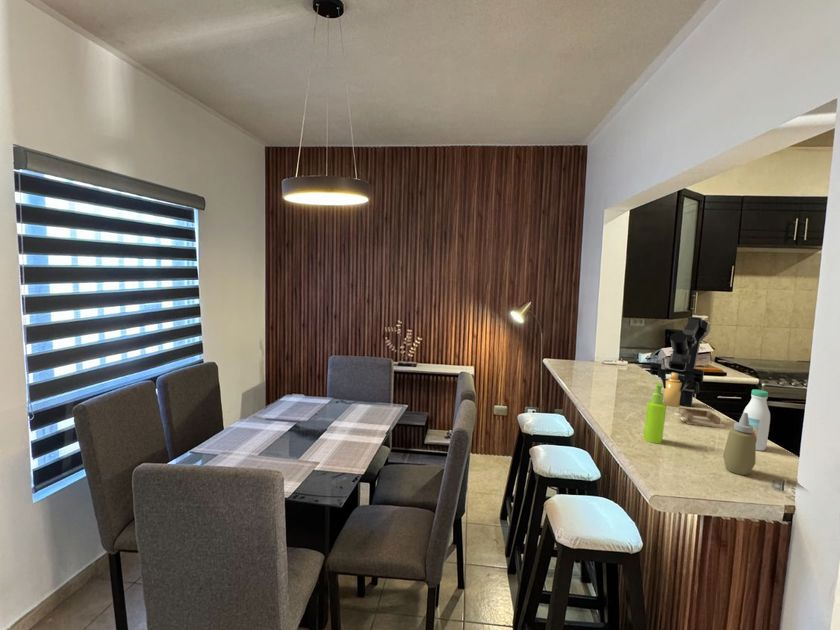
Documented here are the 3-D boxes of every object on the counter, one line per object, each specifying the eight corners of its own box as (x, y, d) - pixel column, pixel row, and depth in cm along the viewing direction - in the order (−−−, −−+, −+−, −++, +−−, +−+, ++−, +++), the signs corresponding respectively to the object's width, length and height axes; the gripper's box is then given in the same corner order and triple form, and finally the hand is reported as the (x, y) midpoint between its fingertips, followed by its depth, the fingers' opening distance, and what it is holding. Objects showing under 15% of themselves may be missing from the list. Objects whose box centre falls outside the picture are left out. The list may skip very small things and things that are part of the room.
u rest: (674, 413, 194) (675, 406, 194) (710, 417, 192) (711, 410, 192) (687, 424, 181) (688, 416, 180) (726, 428, 178) (727, 420, 178)
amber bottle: (661, 402, 186) (665, 370, 185) (676, 403, 185) (679, 372, 184) (665, 406, 181) (669, 373, 179) (681, 407, 180) (685, 375, 178)
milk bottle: (756, 443, 163) (764, 388, 161) (771, 452, 156) (779, 394, 153) (733, 441, 164) (741, 387, 162) (747, 450, 156) (755, 392, 154)
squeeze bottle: (714, 465, 142) (722, 408, 140) (739, 465, 142) (747, 409, 140) (734, 477, 134) (743, 417, 132) (760, 477, 134) (769, 418, 132)
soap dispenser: (659, 437, 163) (666, 382, 161) (663, 444, 156) (670, 387, 154) (641, 434, 165) (648, 380, 163) (644, 441, 158) (651, 384, 156)
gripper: (653, 342, 189) (645, 373, 181) (706, 349, 178) (700, 382, 171) (654, 358, 196) (647, 388, 189) (705, 366, 186) (699, 398, 178)
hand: (672, 389), depth 181 cm, fingers closed on amber bottle, 6 cm apart
